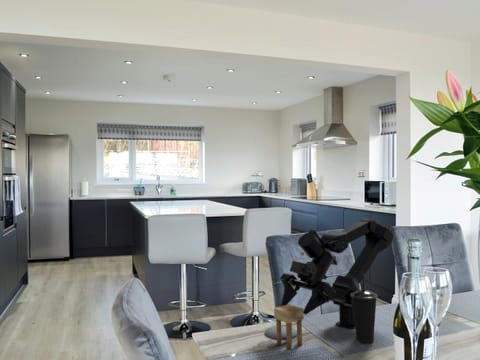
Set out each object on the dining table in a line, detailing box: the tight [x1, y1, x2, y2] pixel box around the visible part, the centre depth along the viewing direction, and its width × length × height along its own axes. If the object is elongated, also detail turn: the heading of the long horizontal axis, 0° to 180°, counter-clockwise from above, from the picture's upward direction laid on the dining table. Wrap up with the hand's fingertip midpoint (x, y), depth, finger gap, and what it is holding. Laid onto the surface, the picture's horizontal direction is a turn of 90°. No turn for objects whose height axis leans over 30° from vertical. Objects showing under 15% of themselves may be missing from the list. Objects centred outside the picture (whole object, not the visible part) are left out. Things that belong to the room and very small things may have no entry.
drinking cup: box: [351, 273, 378, 345], centre depth 124 cm, size 8×8×20 cm
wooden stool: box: [273, 303, 305, 350], centre depth 122 cm, size 6×6×10 cm
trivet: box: [264, 325, 297, 340], centre depth 132 cm, size 10×10×1 cm
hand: (293, 309), depth 124 cm, fingers open, 9 cm apart
